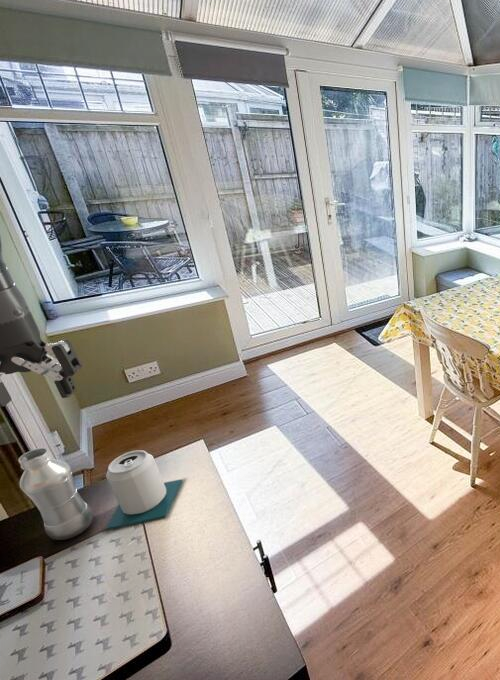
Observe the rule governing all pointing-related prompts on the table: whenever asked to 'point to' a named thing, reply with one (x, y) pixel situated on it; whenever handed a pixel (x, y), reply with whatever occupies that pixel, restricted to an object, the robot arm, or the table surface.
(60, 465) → the plastic bottle
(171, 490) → the mat
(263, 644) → the table surface
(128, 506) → the can
